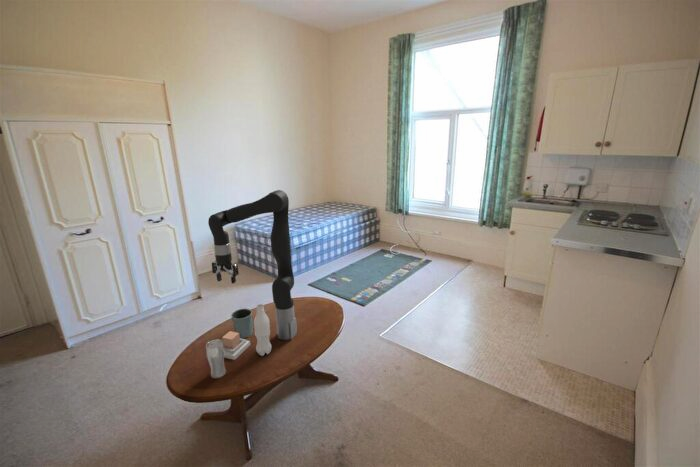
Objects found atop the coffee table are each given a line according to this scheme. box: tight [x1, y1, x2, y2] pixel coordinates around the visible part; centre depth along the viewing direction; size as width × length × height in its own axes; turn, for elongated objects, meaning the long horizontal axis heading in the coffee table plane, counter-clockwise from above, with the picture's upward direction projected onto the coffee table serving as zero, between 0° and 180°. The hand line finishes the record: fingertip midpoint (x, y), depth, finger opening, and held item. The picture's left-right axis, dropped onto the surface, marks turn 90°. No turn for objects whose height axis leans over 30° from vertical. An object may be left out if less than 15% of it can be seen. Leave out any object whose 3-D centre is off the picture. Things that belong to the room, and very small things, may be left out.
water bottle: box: [253, 303, 272, 357], centre depth 148 cm, size 7×7×25 cm
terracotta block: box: [221, 330, 240, 349], centre depth 153 cm, size 6×6×6 cm
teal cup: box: [230, 308, 254, 339], centre depth 165 cm, size 10×10×12 cm
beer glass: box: [205, 338, 227, 379], centre depth 136 cm, size 7×7×15 cm
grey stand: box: [224, 338, 251, 361], centre depth 154 cm, size 12×12×4 cm
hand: (226, 281), depth 162 cm, fingers open, 8 cm apart
